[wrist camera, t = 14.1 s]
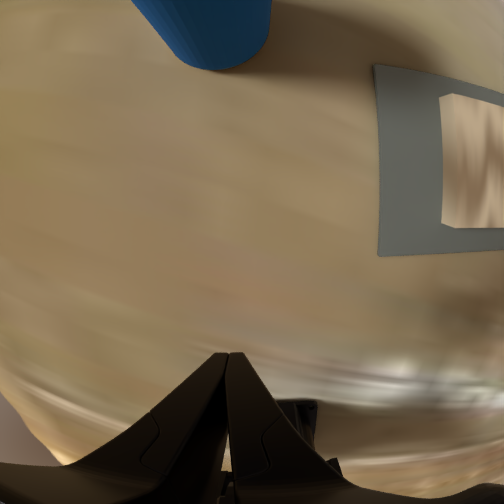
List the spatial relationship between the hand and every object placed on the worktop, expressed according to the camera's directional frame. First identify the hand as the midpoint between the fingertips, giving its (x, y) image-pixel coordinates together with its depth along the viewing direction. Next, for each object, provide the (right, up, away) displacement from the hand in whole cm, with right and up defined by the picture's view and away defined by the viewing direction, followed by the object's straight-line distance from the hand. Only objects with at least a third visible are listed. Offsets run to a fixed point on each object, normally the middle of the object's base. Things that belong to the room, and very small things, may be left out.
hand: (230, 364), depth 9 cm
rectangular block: (+14, +9, +8) cm, 19 cm away
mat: (+16, +10, +10) cm, 21 cm away
